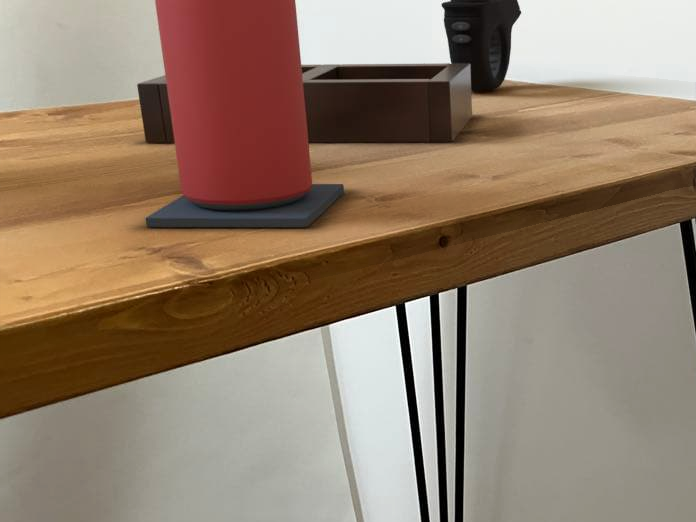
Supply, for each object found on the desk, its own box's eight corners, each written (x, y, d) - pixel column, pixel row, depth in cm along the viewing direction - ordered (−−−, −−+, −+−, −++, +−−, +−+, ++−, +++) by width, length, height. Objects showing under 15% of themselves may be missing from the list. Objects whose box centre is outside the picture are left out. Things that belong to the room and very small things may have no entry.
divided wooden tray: (145, 143, 77) (136, 83, 76) (202, 118, 88) (195, 65, 86) (452, 141, 76) (449, 81, 74) (472, 116, 86) (470, 63, 85)
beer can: (340, 193, 58) (319, -53, 54) (248, 219, 53) (216, -51, 49) (250, 181, 62) (223, -52, 57) (155, 205, 57) (117, -50, 52)
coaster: (146, 227, 54) (144, 217, 54) (202, 192, 62) (201, 183, 61) (307, 227, 54) (306, 217, 54) (344, 192, 61) (343, 183, 61)
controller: (439, 98, 96) (433, -25, 93) (484, 81, 107) (480, -30, 103) (486, 99, 95) (482, -26, 91) (526, 82, 106) (524, -30, 102)
